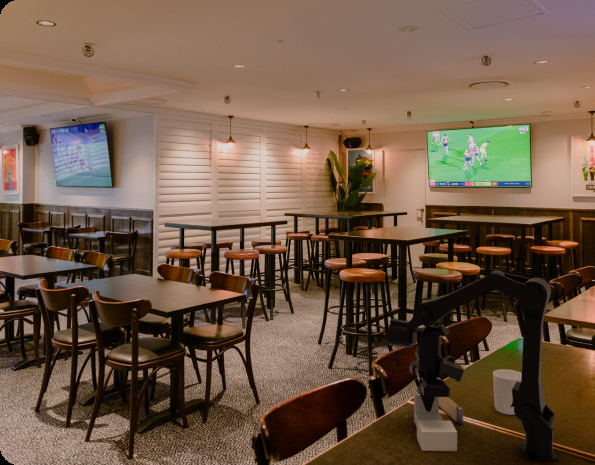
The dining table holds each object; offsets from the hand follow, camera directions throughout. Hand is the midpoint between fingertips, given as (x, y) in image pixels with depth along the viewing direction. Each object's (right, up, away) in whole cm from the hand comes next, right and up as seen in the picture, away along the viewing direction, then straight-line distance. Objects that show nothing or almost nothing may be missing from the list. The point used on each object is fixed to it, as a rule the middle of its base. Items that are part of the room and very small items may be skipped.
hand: (428, 411), depth 129 cm
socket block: (0, -5, -9) cm, 10 cm away
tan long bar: (+7, -3, +10) cm, 13 cm away
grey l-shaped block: (0, -4, 0) cm, 4 cm away
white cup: (+24, -4, +10) cm, 27 cm away
